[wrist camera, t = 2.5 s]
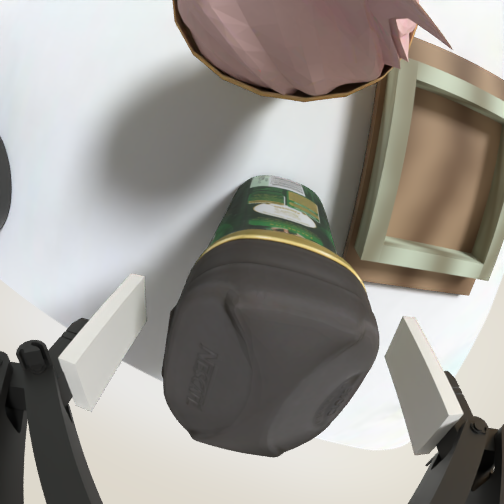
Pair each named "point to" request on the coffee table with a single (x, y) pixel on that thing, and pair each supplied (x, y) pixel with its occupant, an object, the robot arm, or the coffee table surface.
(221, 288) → the coffee jar
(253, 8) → the ice cream cone
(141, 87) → the coffee table surface
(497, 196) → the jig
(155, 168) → the coffee table surface
